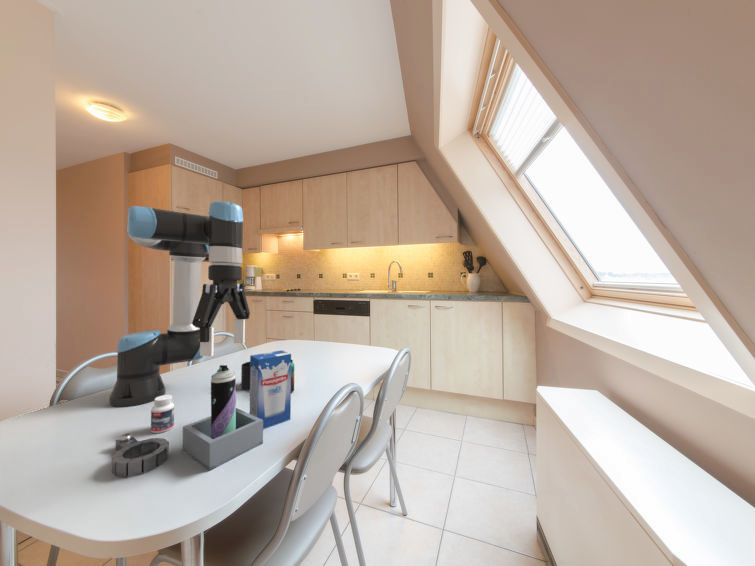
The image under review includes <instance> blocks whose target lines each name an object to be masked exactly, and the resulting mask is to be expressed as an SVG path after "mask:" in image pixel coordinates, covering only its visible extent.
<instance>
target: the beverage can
mask: <svg viewBox="0 0 755 566" xmlns="http://www.w3.org/2000/svg"><path fill="white" fill-rule="evenodd" d="M294 391H295V363H294V361H293V359H291V394H292V393H293V392H294Z"/></svg>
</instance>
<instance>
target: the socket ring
mask: <svg viewBox="0 0 755 566" xmlns="http://www.w3.org/2000/svg"><path fill="white" fill-rule="evenodd" d="M114 447H115V449H116V450H117V451H116V452H115V453H114V455H113V456H112V458H111V474H112V475H113V476H114V477H115V478H123V479H124V478H125V479H126V478H131V477H137V476H140V475H142V474H146V473H149V472H150V471H153V470H154V469H157V468H159V467H160V466H161V465H163V464H164V463H165V462H166V461H167V460H168V457H169V456H170V442H169V440H168V439H166V438H164V437H162V438H161V437H160V438H159V437H158V438H157V437H155V438H148V439H142V440H138V439H136V437H134V436H133V433H124V434H122V435H120V436H119V437H118V439H115V445H114Z"/></svg>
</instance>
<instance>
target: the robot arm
mask: <svg viewBox="0 0 755 566" xmlns="http://www.w3.org/2000/svg"><path fill="white" fill-rule="evenodd" d="M208 207H209V208H208V213H207V214H208V216H207V215H200V214H195V213H187V212H178V211H173V210H166V209H160V208H154V207H150V206H139V205H138V206H137V205H131V206H129V207H128V209H127V210H128V211H127V225H126V234H127V236H128V238H129V239H130V241H132V242H133V243H135V244H137V245H139V246H142V247H145V248H146V249H147V248H148V249H152V250H156V251H167V252H169V253H168V254H169V255H168V256H169V257H170V258H171V259H172V260H173V291H172V320H171V321H172V323H171V324H170V325H169V326H167V330H166V332H164V333H161V331H160V330H159V329H153V330H143V331H138V332H132V333H129V334H125V335H123V336H122V337H120V338H119V339H118V341H117V349H116V353H117V358H116V359H117V360H116V361H117V362H116V363H117V364H116V366H117V367H116V381H115V384H114V386H113V388H112V390H111V393H110V395H109V405H110V406H111V407H118V408H119V407H121V408H122V407H123V408H124V407H132V406H138V405H142V404H147V403H150V402H153V401H154V400H155V398H156V397H159V396H163V395H166V386H165V384H164V381H163V378H162V376H161V374H160V367H161V366H165V365H166V366H167V365H172V364H179V363H186V362H193V361H196V360H197V361H198V360H200V359H202V358H204V357H213V356H214V353H215V352H214V347H215V346H214V345H215V337H214V336H215V335H214V334H215V327H213V326H212V325H213V323H214V321H215V319H216V318H217V315H218V313H219V311H220V309H221V308H222V305H224V304H225V303H228V305H229V307H230V309H231V311H232V313H233V315H234V316H235V318H234V319H233V343H234V344H245V343H246V342H245V339H246V338H245V335H246V334H245V333H246V320H248V319H249V318H250V315H251V311H250V307H249V304H248V300H247V296H246V293H245V284H244V283H238V282H240V281H242V280H243V268H242V266H241V265H243V233H244V232H243V228H244V225H243V224H244V213H243V208H242V206H240V205H239V204H237V203H233V202H228V201H222V200H221V201H218V200H217V201H213V202H211V203H209V206H208ZM207 255H208V262H209V266H208V271H207V272H208V273H207V274H208V275H207V276H208V277H207V278H208V280H210V281H212V283H210V284H209V283H204V284H202V289H201V277H202V274H201V273H202V272H201V271H202V262H203V261H204V260H205V259H206V258H207ZM237 281H238V282H237ZM201 291H202V292H201Z"/></svg>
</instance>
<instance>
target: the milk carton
mask: <svg viewBox="0 0 755 566" xmlns="http://www.w3.org/2000/svg"><path fill="white" fill-rule="evenodd" d="M249 357H250V359H249V360H250V361H249V362H250V390H249V414H251V415H253V416H255V417H257V418H260V419H262V420H263V430H265V429H267V428H268V429H269V428H270V427H273V426H276V425H279V424H282V423H284V422H287V421H290V420H291V415H292V413H291V410H292V409H291V407H292V406H291V401H292V398H291V397H292V396H291V395H292V393H291V360H292V354H291V353H289V352H287V351H285V350H283V349H282V350H276V351H270V352H264V353H256V354H251V355H249Z"/></svg>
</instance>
